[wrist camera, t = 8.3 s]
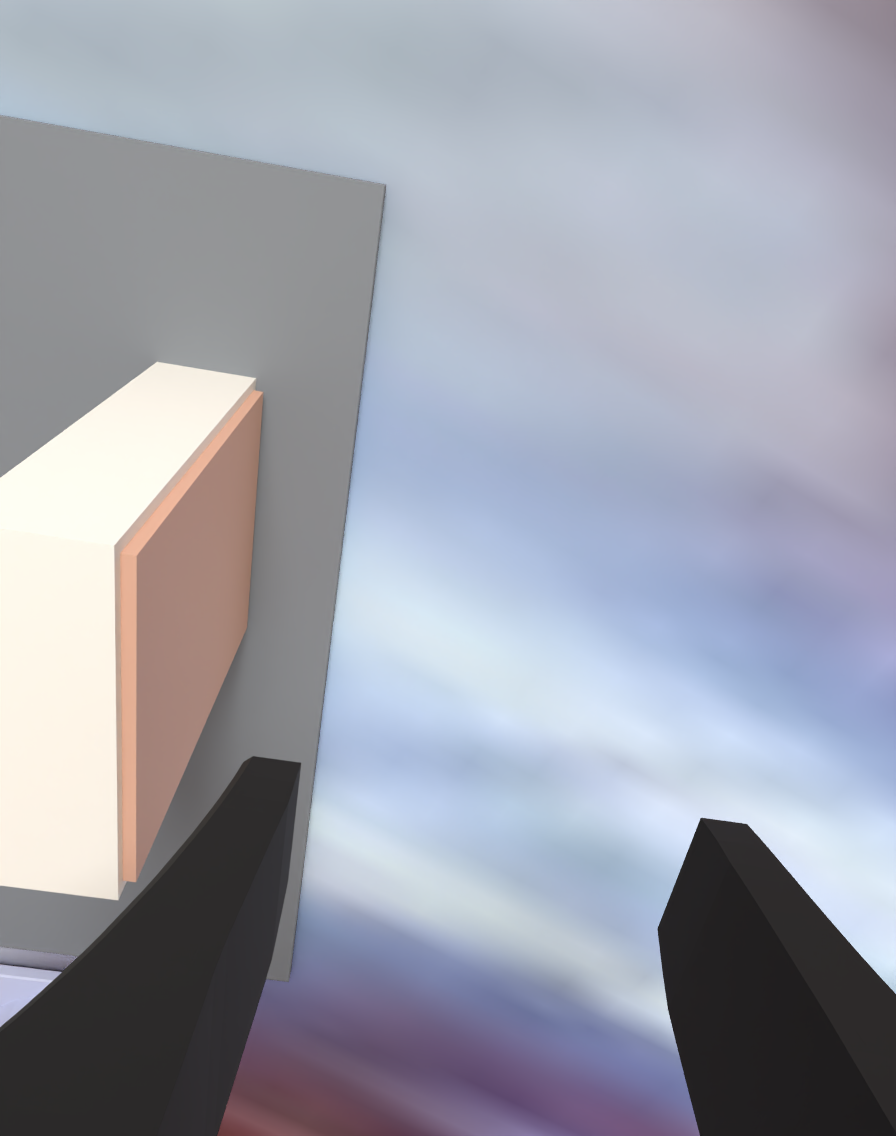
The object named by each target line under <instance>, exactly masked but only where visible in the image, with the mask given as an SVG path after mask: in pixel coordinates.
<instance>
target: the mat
mask: <svg viewBox="0 0 896 1136" xmlns="http://www.w3.org/2000/svg"><path fill="white" fill-rule="evenodd" d="M385 190H386V185H385V184H380V183H374V182H369V181H363V180H357V179H352V178H346V177H341V176H335V175H330V174H324V173H319V172H313V171H308V170H302V169H297V168H291V167H285V166H280V165H274V164H269V163H263V162H258V161H252V160H247V159H241V158H236V157H230V156H225V155H219V154H213V153H208V152H202V151H197V150H191V149H186V148H180V147H175V146H169V145H164V144H158V143H153V142H147V141H141V140H136V139H130V138H125V137H119V136H114V135H108V134H103V133H97V132H92V131H86V130H81V129H75V128H69V127H64V126H58V125H53V124H47V123H42V122H36V121H31V120H25V119H20V118H14V117H9V116H3V115H0V478H1V477H2V476H3V475H5V474H6V473H7V472H9V471H10V470H11V469H13V468H14V467H16V466H17V465H18V464H20V463H21V462H22V461H24V460H25V459H26V458H28V457H29V456H30V455H32V454H33V453H34V452H36V451H37V450H39V449H40V448H41V447H43V446H44V445H45V444H47V443H48V442H49V441H51V440H52V439H53V438H55V437H56V436H57V435H59V434H60V433H62V432H63V431H64V430H66V429H67V428H68V427H70V426H71V425H72V424H74V423H75V422H76V421H78V420H79V419H80V418H82V417H83V416H85V415H86V414H87V413H89V412H90V411H91V410H93V409H94V408H95V407H97V406H98V405H99V404H101V403H102V402H103V401H105V400H106V399H108V398H109V397H110V396H112V395H113V394H114V393H116V392H117V391H118V390H120V389H121V388H122V387H124V386H125V385H126V384H128V383H129V382H130V381H132V380H133V379H135V378H136V377H137V376H139V375H140V374H141V373H143V372H144V371H145V370H147V369H148V368H149V367H151V366H152V365H153V364H155V363H156V362H161V363H167V364H173V365H179V366H185V367H191V368H198V369H204V370H210V371H216V372H222V373H228V374H234V375H240V376H246V377H252V378H256V390H255V391H261V392H263V405H262V420H261V434H260V449H259V463H258V478H257V492H256V507H255V521H254V535H253V550H252V564H251V579H250V593H249V608H248V622H247V629H246V631H245V633H244V636H243V638H242V640H241V643H240V645H239V647H238V649H237V652H236V654H235V656H234V659H233V661H232V663H231V666H230V668H229V670H228V672H227V675H226V677H225V679H224V682H223V684H222V686H221V688H220V691H219V693H218V695H217V698H216V700H215V702H214V705H213V707H212V709H211V711H210V714H209V716H208V718H207V721H206V723H205V725H204V728H203V730H202V732H201V734H200V737H199V739H198V741H197V744H196V746H195V748H194V750H193V753H192V755H191V757H190V760H189V762H188V764H187V767H186V769H185V771H184V773H183V776H182V778H181V780H180V783H179V785H178V787H177V790H176V792H175V794H174V796H173V799H172V801H171V803H170V806H169V808H168V810H167V812H166V815H165V817H164V819H163V822H162V824H161V826H160V829H159V831H158V833H157V835H156V838H155V840H154V842H153V845H152V847H151V849H150V852H149V854H148V856H147V858H146V861H145V863H144V865H143V868H142V870H141V872H140V874H139V877H138V879H137V881H136V882H130V881H127V882H126V884H125V886H124V889H123V891H122V893H121V895H120V898H119V900H111V899H103V898H95V897H87V896H79V895H72V894H64V893H56V892H48V891H40V890H32V889H24V888H16V887H8V886H0V947H7V948H15V949H23V950H31V951H40V952H48V953H56V954H64V955H72V956H79V955H81V954H82V953H83V952H84V951H85V950H86V949H87V948H88V947H89V946H90V945H91V944H92V943H93V942H94V941H95V940H96V939H97V938H98V937H99V936H100V935H101V934H102V933H103V932H104V931H105V930H106V929H107V927H108V926H109V925H110V924H111V923H112V922H113V921H114V920H115V919H116V918H117V917H118V916H119V915H120V914H121V913H122V912H123V911H124V910H125V909H126V907H127V906H128V905H129V904H130V903H131V902H132V901H133V900H134V899H135V898H136V897H137V896H138V895H139V894H140V893H141V892H142V891H143V890H144V889H145V887H146V886H147V885H148V884H149V883H150V882H151V881H152V880H153V879H154V877H155V876H156V875H157V874H158V873H159V872H160V871H161V869H162V868H163V867H164V866H165V865H166V863H167V862H168V861H169V860H170V859H171V858H172V856H173V855H174V854H175V853H176V852H177V850H178V849H179V848H180V847H181V846H182V845H183V843H184V842H185V841H186V840H187V839H188V837H189V836H190V835H191V834H192V833H193V831H194V830H195V829H196V828H197V826H198V825H199V824H200V823H201V821H202V820H203V819H204V817H205V816H206V815H207V814H208V812H209V811H210V810H211V808H212V807H213V806H214V804H215V803H216V802H217V800H218V799H219V798H220V796H221V795H222V793H223V792H224V791H225V789H226V788H227V786H228V785H229V783H230V782H231V780H232V779H233V778H234V776H235V774H236V773H237V771H238V770H239V768H240V766H241V765H242V763H243V762H244V761H246V760H247V759H249V758H251V757H252V756H256V757H263V758H271V759H278V760H285V761H292V762H300V763H301V770H300V779H299V788H298V797H297V806H296V815H295V824H294V833H293V842H292V851H291V860H290V869H289V878H288V884H287V889H286V894H285V899H284V904H283V909H282V914H281V918H280V923H279V928H278V933H277V938H276V942H275V947H274V952H273V957H272V961H271V964H270V967H269V971H268V974H267V977H266V979H269V980H277V981H286V982H289V977H290V972H291V966H292V957H293V949H294V941H295V933H296V924H297V916H298V908H299V900H300V891H301V883H302V875H303V867H304V858H305V850H306V842H307V834H308V825H309V817H310V809H311V801H312V792H313V784H314V776H315V768H316V759H317V751H318V743H319V735H320V726H321V718H322V710H323V702H324V693H325V685H326V677H327V669H328V660H329V652H330V644H331V636H332V627H333V619H334V611H335V603H336V594H337V586H338V578H339V570H340V561H341V553H342V545H343V537H344V528H345V520H346V512H347V504H348V495H349V487H350V479H351V471H352V462H353V454H354V446H355V438H356V429H357V421H358V413H359V405H360V396H361V388H362V380H363V372H364V363H365V355H366V347H367V339H368V330H369V322H370V314H371V306H372V297H373V289H374V281H375V273H376V264H377V256H378V248H379V240H380V231H381V223H382V215H383V207H384V198H385Z"/></svg>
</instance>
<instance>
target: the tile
mask: <svg viewBox="0 0 896 1136" xmlns="http://www.w3.org/2000/svg"><path fill="white" fill-rule="evenodd" d="M255 390H256V378H252V377H246V376H240V375H234V374H228V373H222V372H216V371H210V370H204V369H198V368H191V367H185V366H179V365H173V364H167V363H161V362H156V363H155V364H153V365H152V366H151V367H149V368H148V369H147V370H145V371H144V372H143V373H141V374H140V375H139V376H137V377H136V378H135V379H133V380H132V381H130V382H129V383H128V384H126V385H125V386H124V387H122V388H121V389H120V390H118V391H117V392H116V393H114V394H113V395H112V396H110V397H109V398H108V399H106V400H105V401H103V402H102V403H101V404H99V405H98V406H97V407H95V408H94V409H93V410H91V411H90V412H89V413H87V414H86V415H85V416H83V417H82V418H80V419H79V420H78V421H76V422H75V423H74V424H72V425H71V426H70V427H68V428H67V429H66V430H64V431H63V432H62V433H60V434H59V435H57V436H56V437H55V438H53V439H52V440H51V441H49V442H48V443H47V444H45V445H44V446H43V447H41V448H40V449H39V450H37V451H36V452H34V453H33V454H32V455H30V456H29V457H28V458H26V459H25V460H24V461H22V462H21V463H20V464H18V465H17V466H16V467H14V468H13V469H11V470H10V471H9V472H7V473H6V474H5V475H3V476H2V477H1V478H0V886H8V887H16V888H24V889H32V890H40V891H48V892H56V893H64V894H72V895H79V896H87V897H95V898H103V899H111V900H119V898H120V895H121V893H122V891H123V889H124V886H125V884H126V882H127V881H130V882H136V881H137V879H138V877H139V874H140V872H141V870H142V868H143V865H144V863H145V861H146V858H147V856H148V854H149V852H150V849H151V847H152V845H153V842H154V840H155V838H156V835H157V833H158V831H159V829H160V826H161V824H162V822H163V819H164V817H165V815H166V812H167V810H168V808H169V806H170V803H171V801H172V799H173V796H174V794H175V792H176V790H177V787H178V785H179V783H180V780H181V778H182V776H183V773H184V771H185V769H186V767H187V764H188V762H189V760H190V757H191V755H192V753H193V750H194V748H195V746H196V744H197V741H198V739H199V737H200V734H201V732H202V730H203V728H204V725H205V723H206V721H207V718H208V716H209V714H210V711H211V709H212V707H213V705H214V702H215V700H216V698H217V695H218V693H219V691H220V688H221V686H222V684H223V682H224V679H225V677H226V675H227V672H228V670H229V668H230V666H231V663H232V661H233V659H234V656H235V654H236V652H237V649H238V647H239V645H240V643H241V640H242V638H243V636H244V633H245V631H246V629H247V622H248V608H249V593H250V579H251V564H252V550H253V535H254V521H255V507H256V492H257V478H258V463H259V449H260V434H261V420H262V405H263V392H261V391H255Z"/></svg>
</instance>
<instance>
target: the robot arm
mask: <svg viewBox="0 0 896 1136" xmlns="http://www.w3.org/2000/svg"><path fill="white" fill-rule="evenodd" d="M300 770H301V763H300V762H292V761H285V760H278V759H271V758H263V757H256V756H252V757H251V758H249V759H247V760H246V761H244V762H243V763H242V765H241V766H240V768H239V770H238V771H237V773H236V774H235V776H234V778H233V779H232V780H231V782H230V783H229V785H228V786H227V788H226V789H225V791H224V792H223V793H222V795H221V796H220V798H219V799H218V800H217V802H216V803H215V804H214V806H213V807H212V808H211V810H210V811H209V812H208V814H207V815H206V816H205V817H204V819H203V820H202V821H201V823H200V824H199V825H198V826H197V828H196V829H195V830H194V831H193V833H192V834H191V835H190V836H189V837H188V839H187V840H186V841H185V842H184V843H183V845H182V846H181V847H180V848H179V849H178V850H177V852H176V853H175V854H174V855H173V856H172V858H171V859H170V860H169V861H168V862H167V863H166V865H165V866H164V867H163V868H162V869H161V871H160V872H159V873H158V874H157V875H156V876H155V877H154V879H153V880H152V881H151V882H150V883H149V884H148V885H147V886H146V887H145V889H144V890H143V891H142V892H141V893H140V894H139V895H138V896H137V897H136V898H135V899H134V900H133V901H132V902H131V903H130V904H129V905H128V906H127V907H126V909H125V910H124V911H123V912H122V913H121V914H120V915H119V916H118V917H117V918H116V919H115V920H114V921H113V922H112V923H111V924H110V925H109V926H108V927H107V929H106V930H105V931H104V932H103V933H102V934H101V935H100V936H99V937H98V938H97V939H96V940H95V941H94V942H93V943H92V944H91V945H90V946H89V947H88V948H87V949H86V950H85V951H84V952H83V953H82V954H81V955H79V956H78V957H77V958H76V959H75V960H74V961H73V962H72V963H71V964H70V965H69V966H68V967H67V968H66V969H65V970H64V971H63V972H59V971H51V970H43V969H34V968H26V967H18V966H9V965H1V964H0V1136H217V1134H218V1131H219V1128H220V1124H221V1121H222V1118H223V1115H224V1112H225V1108H226V1105H227V1102H228V1099H229V1096H230V1092H231V1089H232V1086H233V1083H234V1080H235V1077H236V1073H237V1070H238V1067H239V1064H240V1061H241V1057H242V1054H243V1051H244V1048H245V1045H246V1041H247V1038H248V1035H249V1032H250V1029H251V1025H252V1022H253V1019H254V1016H255V1013H256V1009H257V1006H258V1003H259V1000H260V997H261V993H262V990H263V987H264V984H265V980H266V977H267V974H268V971H269V967H270V964H271V961H272V957H273V952H274V947H275V942H276V938H277V933H278V928H279V923H280V918H281V914H282V909H283V904H284V899H285V894H286V889H287V884H288V878H289V869H290V860H291V851H292V842H293V833H294V824H295V815H296V806H297V797H298V788H299V779H300ZM658 936H659V945H660V953H661V962H662V970H663V978H664V984H665V991H666V998H667V1005H668V1011H669V1015H670V1019H671V1023H672V1027H673V1032H674V1036H675V1039H676V1043H677V1047H678V1051H679V1055H680V1059H681V1063H682V1067H683V1071H684V1075H685V1079H686V1083H687V1087H688V1091H689V1095H690V1098H691V1102H692V1106H693V1110H694V1114H695V1118H696V1122H697V1125H698V1129H699V1133H700V1136H896V994H895V993H894V992H893V991H892V989H891V988H890V987H889V986H888V985H887V984H886V983H885V982H884V981H883V980H882V979H881V978H880V976H879V975H878V974H877V973H876V972H875V971H874V970H873V969H872V968H871V967H870V965H869V964H868V963H867V962H866V961H865V960H864V959H863V958H862V957H861V955H860V954H859V953H858V952H857V951H856V950H855V949H854V947H853V946H852V945H851V944H850V943H849V942H848V941H847V939H846V938H845V937H844V936H843V935H842V934H841V933H840V931H839V930H838V929H837V928H836V927H835V926H834V925H833V923H832V922H831V921H830V920H829V919H828V918H827V916H826V915H825V914H824V913H823V912H822V911H821V909H820V908H819V907H818V906H817V905H816V904H815V902H814V901H813V900H812V899H811V898H810V897H809V895H808V894H807V893H806V892H805V891H804V890H803V888H802V887H801V886H800V885H799V884H798V882H797V881H796V880H795V879H794V878H793V877H792V875H791V874H790V873H789V872H788V871H787V869H786V868H785V867H784V866H783V865H782V864H781V862H780V861H779V860H778V859H777V858H776V857H775V855H774V854H773V853H772V852H771V851H770V850H769V848H768V847H767V846H766V845H765V844H764V843H763V842H762V840H761V839H760V838H759V837H758V836H757V835H756V834H755V833H754V831H753V830H752V829H751V828H750V827H749V826H748V825H747V824H742V823H735V822H728V821H721V820H713V819H706V818H701V819H700V822H699V824H698V827H697V829H696V832H695V834H694V837H693V840H692V842H691V845H690V847H689V850H688V852H687V855H686V857H685V860H684V863H683V865H682V868H681V870H680V873H679V875H678V878H677V880H676V883H675V885H674V888H673V891H672V893H671V896H670V898H669V901H668V903H667V906H666V908H665V911H664V914H663V916H662V919H661V921H660V924H659V926H658Z"/></svg>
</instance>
